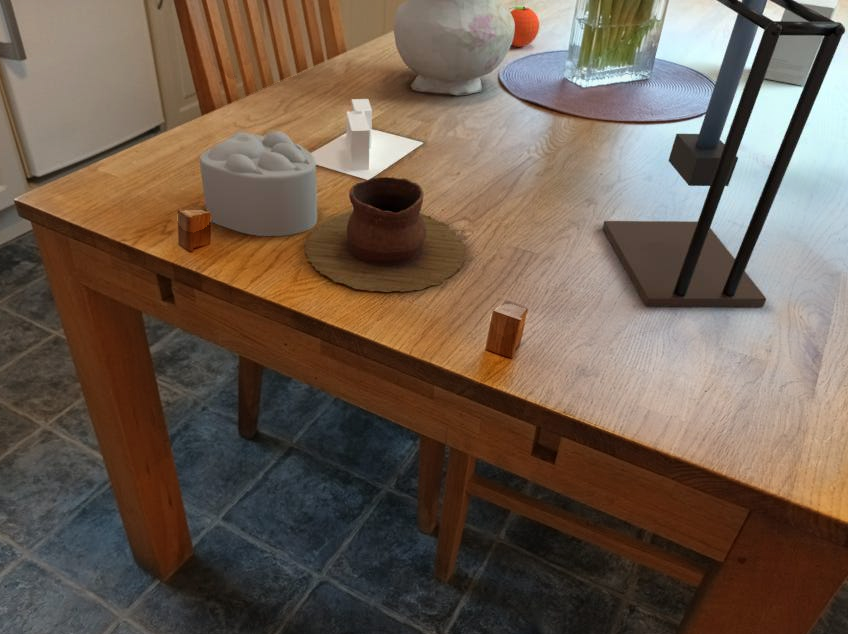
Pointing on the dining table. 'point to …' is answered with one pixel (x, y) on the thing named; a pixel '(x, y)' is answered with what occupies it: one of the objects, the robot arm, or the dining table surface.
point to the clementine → (524, 26)
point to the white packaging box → (798, 47)
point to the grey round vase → (452, 42)
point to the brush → (716, 109)
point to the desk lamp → (695, 241)
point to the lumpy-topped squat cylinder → (260, 185)
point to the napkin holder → (363, 146)
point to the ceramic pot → (386, 241)
